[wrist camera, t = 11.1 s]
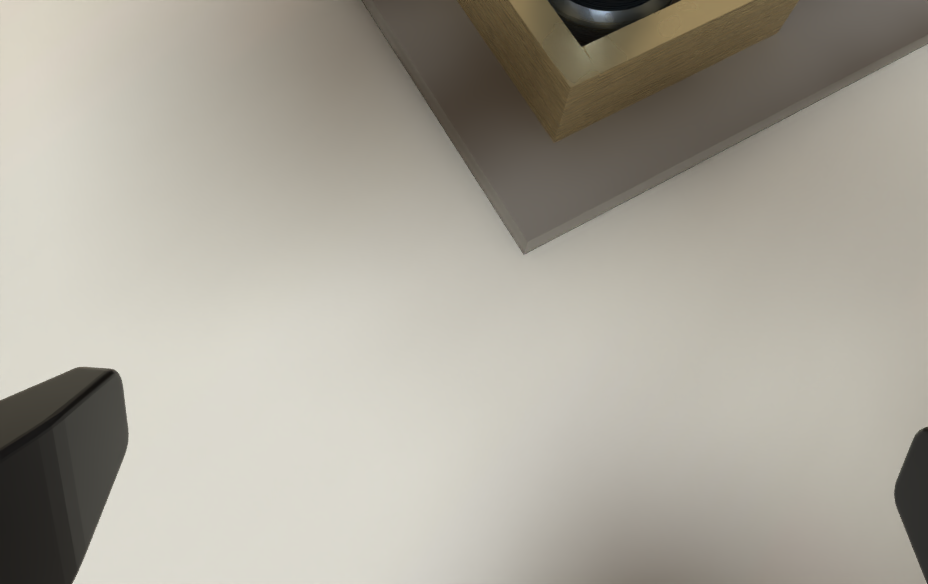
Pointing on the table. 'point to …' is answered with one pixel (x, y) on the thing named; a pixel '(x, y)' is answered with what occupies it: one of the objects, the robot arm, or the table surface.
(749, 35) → the socket
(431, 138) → the table surface
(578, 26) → the steel coupler
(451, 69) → the shaft board
